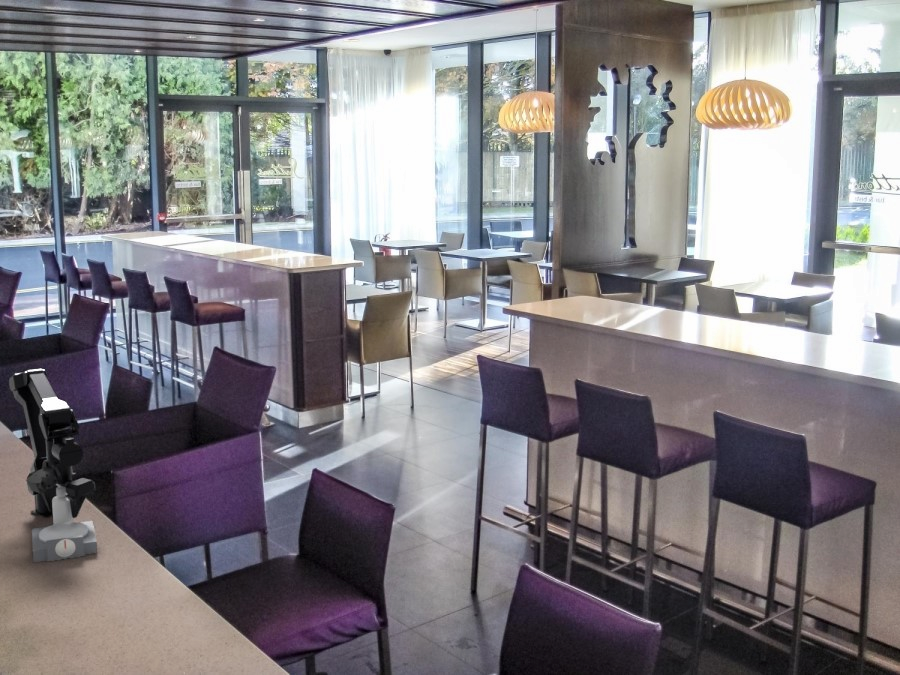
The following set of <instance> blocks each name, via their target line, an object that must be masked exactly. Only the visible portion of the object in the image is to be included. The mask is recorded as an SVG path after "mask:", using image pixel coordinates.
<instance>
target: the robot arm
mask: <svg viewBox="0 0 900 675" xmlns="http://www.w3.org/2000/svg"><path fill="white" fill-rule="evenodd" d="M8 385H9V390H10V391H11V392H12V393H13V394H12V395H13V397H14V399H15V400H16V402H18V403H19V404H20V405H21V406H22V407H23V411H24V412H23V413H24V417H25V420H26V425H27V430H28V435H29V438H30V443H31V448H32V453H33V457H34V458H33V461H32V463H31V466H30V470H29V471H30V472H29V474H28V475H27V477H26V480H25V481H26V485H27V487H26V488H27V491H28V493H30V494H31V496H34V506H35V507H34V509H33V510H30V514H33V515H36V516H39V517H44V518H50V517H51V516H52V517H53V509H52V499H53V498H54V497H55V496H57V495H56V488H57V487H59V485H60V486H63V487H65V489H66V493H67V495H65V497H67V498H68V499H69V500H70V507H71V513H72V517H73V519H76V518H77V517H78V516H79V514H80V511H81V508H82V506H83V504H84V502H85V500H86V499H87V496H88V495H90V494H91V493H92V492H95V491H96V482H95V481H94V480H92V479H88V478H86V477H82V478H79V479H75V478H77V473H76V472H73V466H76V465H78V464H79V463H80V462H81V461H82V460H83V457H84V451H83V448H82V447H81V445H79V444H78V443H77V442H75V439H74V436H80V432H79V430H80V425H79V422H78V419H77V416H76V414H75V412H74V411H73V409H71V407H70V406H69V405H68V403H67V402H66V401H64V400H61V399H59V398H58V396H57V395H56V393H55V391H54V389H53V387H52V386H51V383H50V382H49V380H48V375H47V372H46V370H45V369H44V368H34V369H27V370H25V371H23V372H15V373H13V375H12V376H11V377H10V378H9V380H8ZM73 479H75V480H73Z"/></svg>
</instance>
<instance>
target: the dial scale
mask: <svg viewBox="0 0 900 675" xmlns="http://www.w3.org/2000/svg"><path fill="white" fill-rule="evenodd" d="M94 526H95V525H94V521H93V520H87V521H80V522H75V521H74V522H68V523H59V524H55V525H54V524H52V525H49V526H43V527H42V526H41V527H37V528H31V534H32V535H31V539H32V540H31V542H32V559H33V564H34V563H41V562H47V563H50V562H49V561H51V562H56V561H55V560H58V561H61V560H60V559H64V560H68V559H67V558H71V559H75V558H74V557H78V558H81V557H80V556H84V557H85V555H84V554H89V553H95V554H98V541H97V536H96V531H95V527H94ZM89 555H90V554H89Z"/></svg>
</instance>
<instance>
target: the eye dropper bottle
mask: <svg viewBox="0 0 900 675" xmlns="http://www.w3.org/2000/svg"><path fill="white" fill-rule="evenodd" d="M56 495H57V496H55V497H54V498H53V499H52V509H53V515H52V521H53V522H52V525H55V524H59V523H68V522H75V520H74V519H75V518H73V517H72V513H71V507H70V500H69V499H68V498H67V497H65V495H68V494H67V493H66V489H65V487H63V486H60V485H59V487H57V488H56Z"/></svg>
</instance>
